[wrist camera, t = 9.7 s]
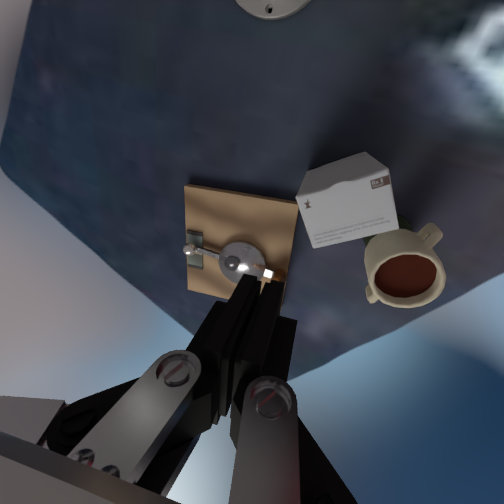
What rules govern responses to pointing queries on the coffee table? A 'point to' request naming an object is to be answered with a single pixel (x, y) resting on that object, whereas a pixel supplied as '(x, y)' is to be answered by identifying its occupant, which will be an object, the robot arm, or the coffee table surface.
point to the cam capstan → (239, 261)
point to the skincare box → (347, 200)
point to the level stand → (235, 233)
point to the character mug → (404, 266)
